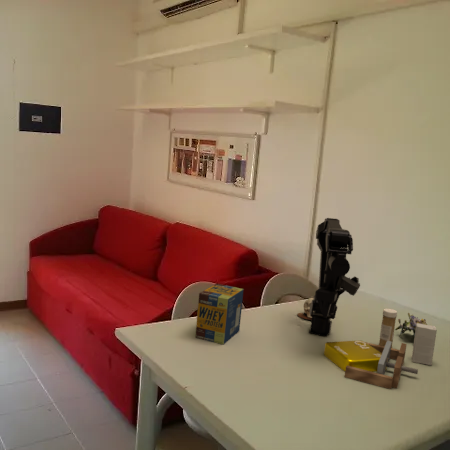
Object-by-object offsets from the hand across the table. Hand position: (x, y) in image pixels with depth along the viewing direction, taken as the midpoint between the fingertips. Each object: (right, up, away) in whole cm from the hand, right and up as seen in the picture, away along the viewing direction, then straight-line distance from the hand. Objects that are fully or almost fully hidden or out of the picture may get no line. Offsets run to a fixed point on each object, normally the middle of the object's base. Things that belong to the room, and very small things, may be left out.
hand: (328, 313), depth 163 cm
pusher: (+18, -15, -13) cm, 27 cm away
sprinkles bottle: (+21, -13, +8) cm, 26 cm away
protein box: (-37, -8, +6) cm, 38 cm away
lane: (+12, -15, -10) cm, 21 cm away
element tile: (+7, -15, -7) cm, 17 cm away
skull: (+1, -8, +34) cm, 35 cm away
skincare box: (+30, -15, -2) cm, 33 cm away
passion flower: (+33, -13, +18) cm, 40 cm away
